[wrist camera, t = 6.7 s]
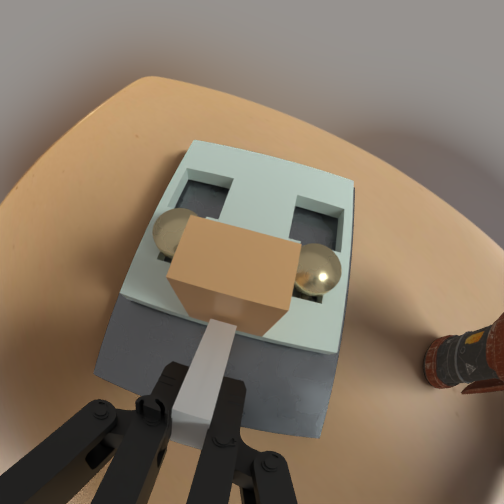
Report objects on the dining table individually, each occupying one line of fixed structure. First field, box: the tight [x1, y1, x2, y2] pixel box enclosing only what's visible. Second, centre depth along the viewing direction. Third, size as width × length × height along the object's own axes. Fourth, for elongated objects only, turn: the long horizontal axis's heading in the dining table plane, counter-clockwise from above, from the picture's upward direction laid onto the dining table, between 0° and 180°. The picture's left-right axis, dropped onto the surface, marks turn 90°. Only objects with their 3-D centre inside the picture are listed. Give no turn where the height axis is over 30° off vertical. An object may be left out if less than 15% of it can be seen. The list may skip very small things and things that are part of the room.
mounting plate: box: [93, 179, 355, 438], centre depth 21 cm, size 18×24×5 cm
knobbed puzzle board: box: [120, 140, 354, 355], centre depth 18 cm, size 16×16×10 cm
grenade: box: [424, 313, 504, 394], centre depth 14 cm, size 6×8×15 cm
